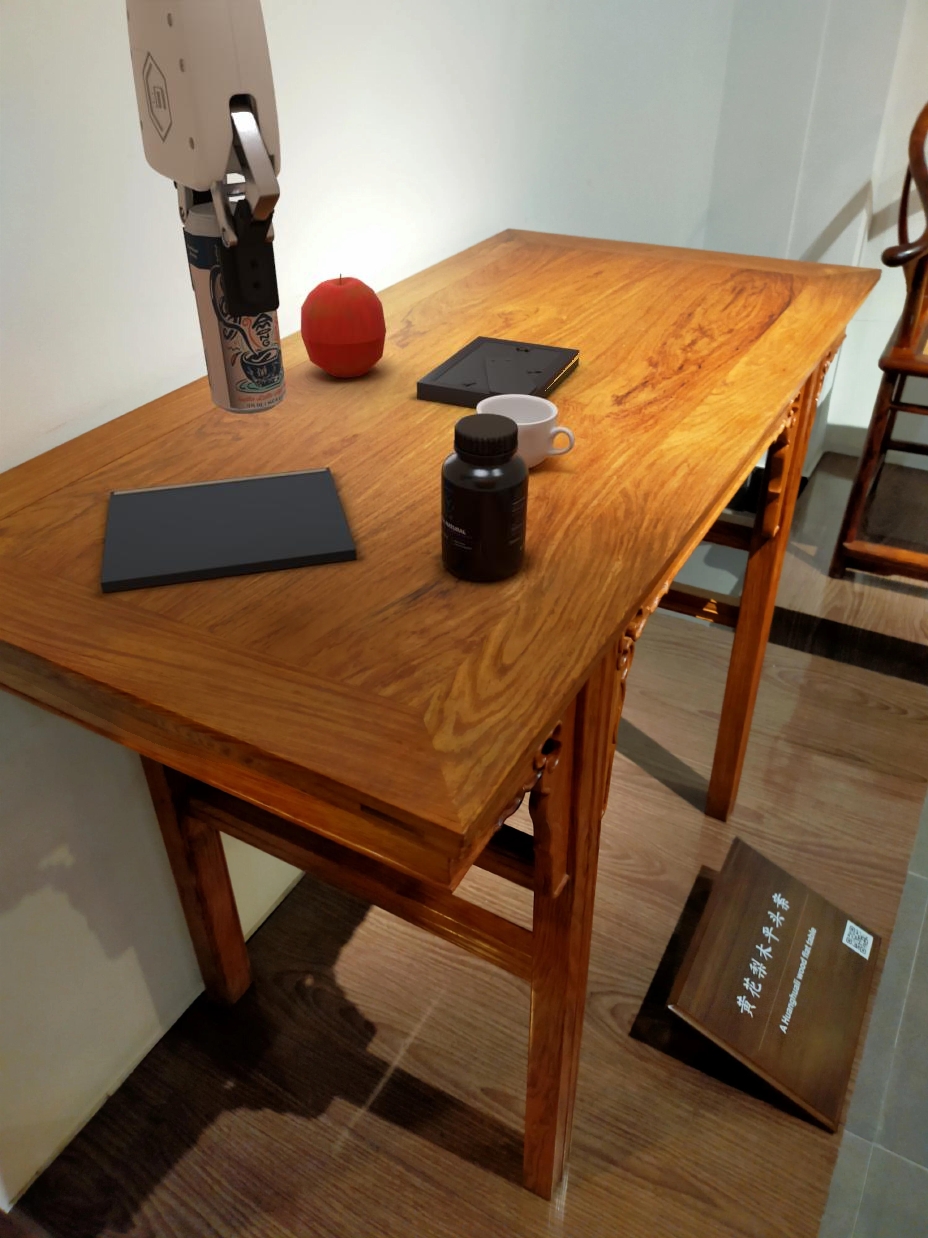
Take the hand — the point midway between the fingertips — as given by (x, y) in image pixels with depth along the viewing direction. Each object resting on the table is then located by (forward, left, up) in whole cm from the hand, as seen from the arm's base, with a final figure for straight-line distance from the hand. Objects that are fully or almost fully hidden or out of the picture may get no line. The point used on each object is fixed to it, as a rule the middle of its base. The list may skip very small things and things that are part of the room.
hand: (235, 298), depth 58 cm
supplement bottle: (+17, +3, -24) cm, 29 cm away
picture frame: (+30, +42, -24) cm, 57 cm away
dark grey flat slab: (-3, +14, -23) cm, 27 cm away
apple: (+13, +50, -24) cm, 57 cm away
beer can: (0, 0, -7) cm, 7 cm away
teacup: (+26, +20, -24) cm, 40 cm away
